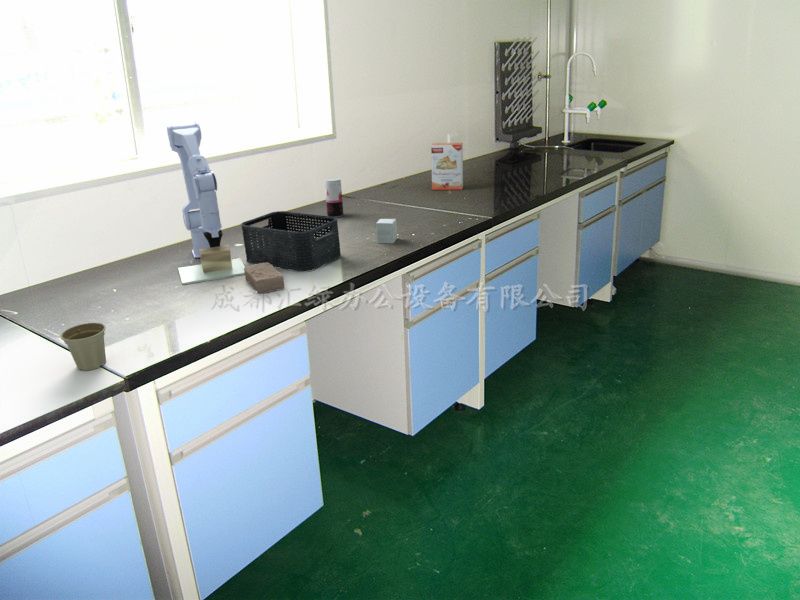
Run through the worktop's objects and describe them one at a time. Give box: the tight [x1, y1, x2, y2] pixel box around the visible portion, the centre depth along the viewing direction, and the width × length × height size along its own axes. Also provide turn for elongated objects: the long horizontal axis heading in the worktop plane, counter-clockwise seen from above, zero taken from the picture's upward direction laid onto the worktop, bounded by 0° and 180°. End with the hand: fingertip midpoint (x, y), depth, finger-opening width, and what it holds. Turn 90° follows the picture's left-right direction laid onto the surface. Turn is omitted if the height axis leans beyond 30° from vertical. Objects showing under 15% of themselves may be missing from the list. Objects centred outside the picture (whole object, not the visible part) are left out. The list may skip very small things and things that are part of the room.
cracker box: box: [430, 142, 464, 191], centre depth 301 cm, size 14×6×21 cm, turn 81°
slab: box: [199, 244, 232, 273], centre depth 208 cm, size 3×9×7 cm, turn 112°
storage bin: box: [240, 210, 342, 272], centre depth 216 cm, size 29×19×13 cm
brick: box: [244, 263, 285, 294], centre depth 196 cm, size 16×8×5 cm, turn 26°
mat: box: [177, 257, 246, 285], centre depth 209 cm, size 16×20×1 cm
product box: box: [375, 218, 398, 244], centre depth 231 cm, size 6×6×7 cm
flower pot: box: [60, 322, 107, 371], centre depth 150 cm, size 9×9×9 cm
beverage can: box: [324, 177, 344, 218], centre depth 266 cm, size 6×6×15 cm
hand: (216, 253), depth 209 cm, fingers closed
